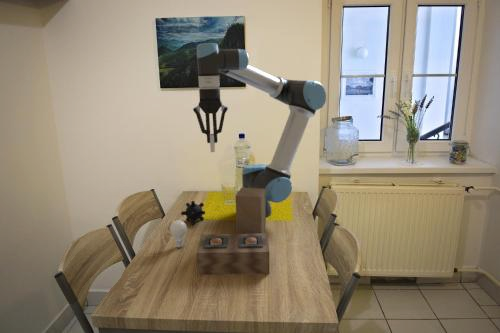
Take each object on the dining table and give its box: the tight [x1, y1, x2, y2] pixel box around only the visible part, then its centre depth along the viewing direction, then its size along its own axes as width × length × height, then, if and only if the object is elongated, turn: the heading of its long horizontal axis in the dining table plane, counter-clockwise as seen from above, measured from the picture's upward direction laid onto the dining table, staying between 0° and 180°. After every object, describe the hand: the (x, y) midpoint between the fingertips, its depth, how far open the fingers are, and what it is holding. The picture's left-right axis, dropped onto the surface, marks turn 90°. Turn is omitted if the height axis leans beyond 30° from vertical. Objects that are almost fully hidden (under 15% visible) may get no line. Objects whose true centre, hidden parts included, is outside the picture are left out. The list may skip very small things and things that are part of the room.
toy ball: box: [180, 200, 206, 226], centre depth 166 cm, size 11×11×12 cm
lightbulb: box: [169, 219, 188, 249], centre depth 142 cm, size 6×6×11 cm
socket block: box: [195, 232, 270, 276], centre depth 130 cm, size 24×14×9 cm, turn 90°
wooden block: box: [235, 187, 267, 234], centre depth 146 cm, size 10×10×20 cm
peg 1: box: [210, 238, 222, 245], centre depth 130 cm, size 4×4×8 cm
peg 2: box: [245, 237, 257, 244], centre depth 130 cm, size 4×4×8 cm
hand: (212, 151), depth 142 cm, fingers closed
